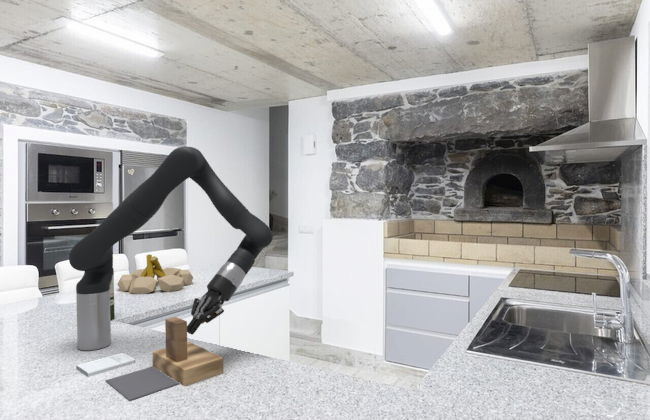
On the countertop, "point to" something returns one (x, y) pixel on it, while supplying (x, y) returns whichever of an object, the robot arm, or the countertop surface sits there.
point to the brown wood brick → (176, 339)
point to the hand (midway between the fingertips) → (188, 332)
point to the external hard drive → (105, 364)
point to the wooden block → (189, 364)
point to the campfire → (146, 283)
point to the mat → (141, 383)
